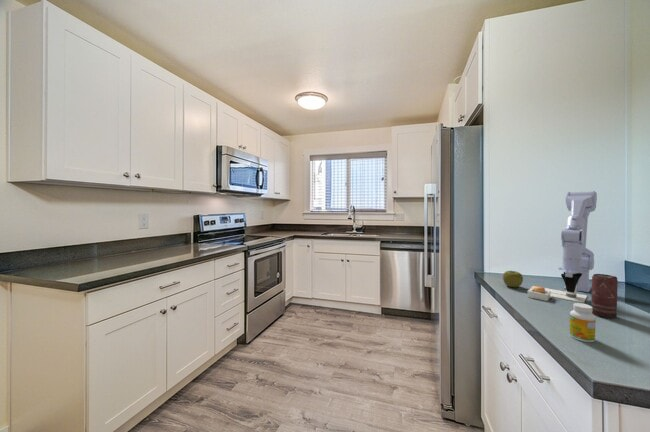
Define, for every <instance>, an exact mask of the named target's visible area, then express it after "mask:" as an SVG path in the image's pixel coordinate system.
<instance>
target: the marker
mask: <svg viewBox="0 0 650 432" xmlns="http://www.w3.org/2000/svg"><path fill="white" fill-rule="evenodd" d="M577 291H578V290H577V284H576V288H575V291H574V293H572V292H567V290H566V289H565V292H566V296H568V297H572V298H576V296H577V294H578V293H577Z"/></svg>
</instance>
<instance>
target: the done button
mask: <svg viewBox="0 0 650 432" xmlns="http://www.w3.org/2000/svg"><path fill="white" fill-rule="evenodd" d="M533 286H534V292H538V293H543V294H545V288H546V287H543V286H539V285H538V286H535V285H533Z"/></svg>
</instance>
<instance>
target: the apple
mask: <svg viewBox="0 0 650 432" xmlns="http://www.w3.org/2000/svg"><path fill="white" fill-rule="evenodd" d="M523 277H524V276H523V274H522V273H520V272H518V271H516V270H506V271H505V272H504V273H503V275H502V279H503V282H504V284H505V286H507V287H509V288H519V287H520V286H521V285H523V281H524V278H523Z"/></svg>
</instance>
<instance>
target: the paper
mask: <svg viewBox="0 0 650 432" xmlns="http://www.w3.org/2000/svg"><path fill="white" fill-rule="evenodd" d="M534 286H535V285H532V286H531V287H530V288H529V289H528V290H530V289H531V288H534ZM544 288H545V290H547V291H551V297H550V298H555V299H561V300H566V301H571V302H575V303H582V304H585V301H586V300H587V297H588V295H586V294H582V293H577V296H576V298H572V297H568V296H566V290H564V291H563V290H559V289H553V288H552V289H551V288H548V287H544ZM528 290H527V291H526V292H527V293H528Z"/></svg>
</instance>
